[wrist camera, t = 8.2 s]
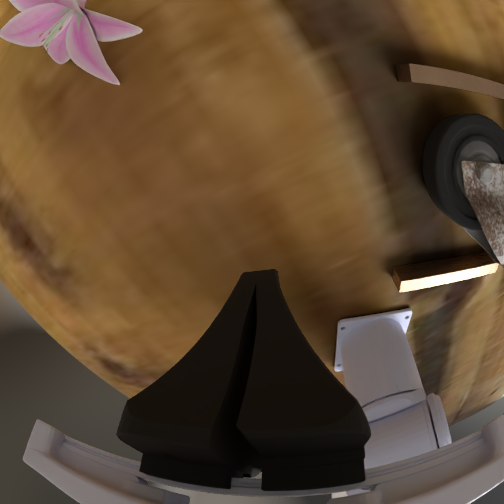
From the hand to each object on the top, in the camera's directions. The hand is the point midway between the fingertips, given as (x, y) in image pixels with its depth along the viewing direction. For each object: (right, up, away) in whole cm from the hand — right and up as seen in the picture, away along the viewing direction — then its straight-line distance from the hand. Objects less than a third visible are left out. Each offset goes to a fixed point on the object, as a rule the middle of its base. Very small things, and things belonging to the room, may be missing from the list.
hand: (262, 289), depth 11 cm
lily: (-11, +17, +1) cm, 21 cm away
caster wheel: (+16, +7, +5) cm, 19 cm away
